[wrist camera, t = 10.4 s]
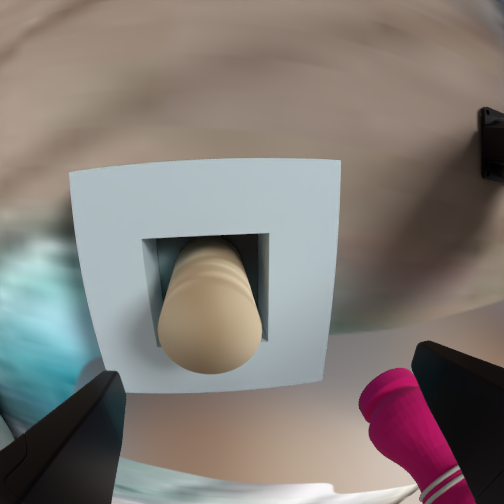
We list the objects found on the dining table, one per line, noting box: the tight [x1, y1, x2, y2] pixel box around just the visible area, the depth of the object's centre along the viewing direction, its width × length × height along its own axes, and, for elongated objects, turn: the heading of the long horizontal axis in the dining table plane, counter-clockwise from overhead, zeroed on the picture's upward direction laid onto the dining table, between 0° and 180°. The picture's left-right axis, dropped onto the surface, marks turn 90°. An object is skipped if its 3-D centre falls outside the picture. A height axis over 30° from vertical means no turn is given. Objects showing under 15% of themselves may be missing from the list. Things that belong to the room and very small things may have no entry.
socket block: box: [69, 158, 341, 393], centre depth 18 cm, size 14×14×4 cm
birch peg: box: [158, 236, 262, 374], centre depth 16 cm, size 4×4×8 cm
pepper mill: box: [359, 368, 476, 504], centre depth 17 cm, size 7×7×20 cm
